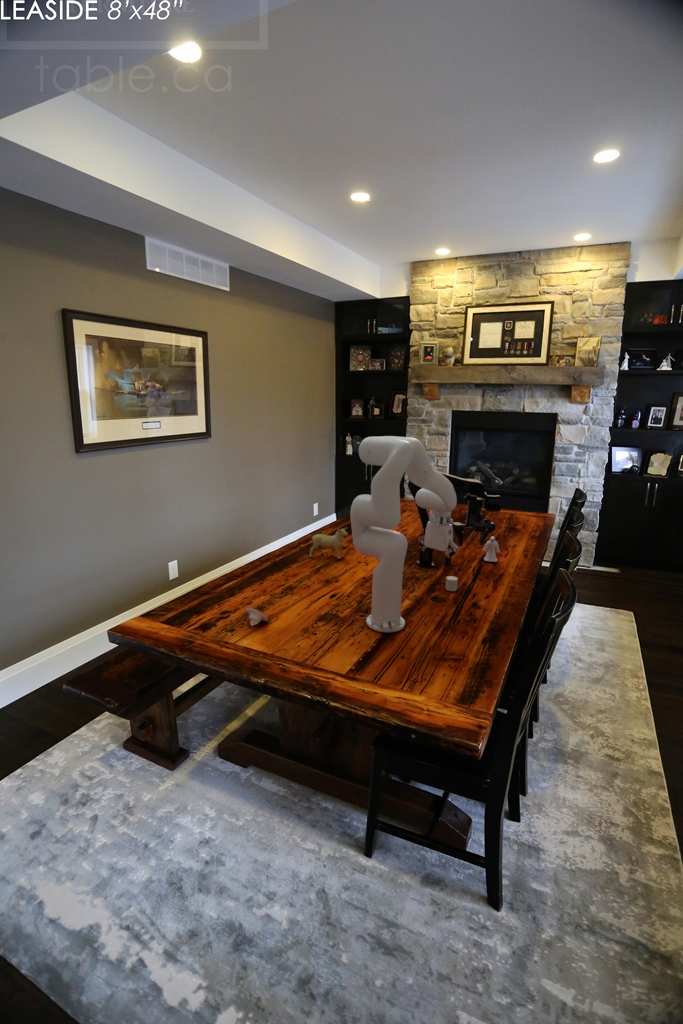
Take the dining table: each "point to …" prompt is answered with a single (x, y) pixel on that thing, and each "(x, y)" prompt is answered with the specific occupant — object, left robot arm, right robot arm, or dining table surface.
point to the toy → (329, 542)
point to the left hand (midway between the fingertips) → (436, 563)
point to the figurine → (491, 550)
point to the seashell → (255, 616)
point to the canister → (451, 583)
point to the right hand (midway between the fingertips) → (471, 545)
